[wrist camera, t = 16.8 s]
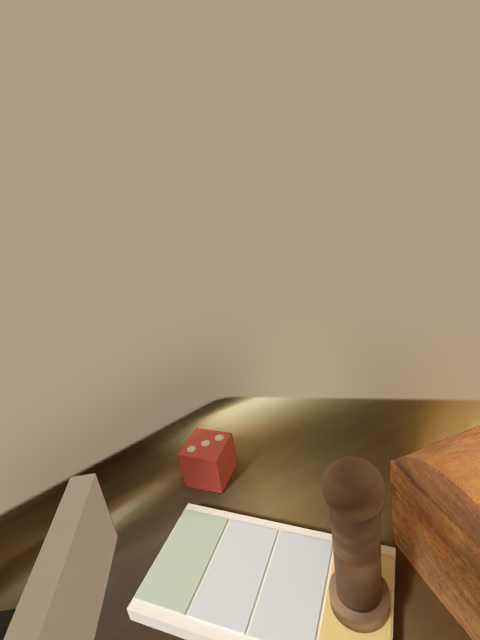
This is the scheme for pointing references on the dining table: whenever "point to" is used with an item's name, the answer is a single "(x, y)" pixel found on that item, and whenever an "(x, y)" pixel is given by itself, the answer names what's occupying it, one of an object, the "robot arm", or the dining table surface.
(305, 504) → the dining table surface
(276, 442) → the dining table surface
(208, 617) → the board
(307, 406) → the dining table surface
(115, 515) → the dining table surface
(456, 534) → the wooden box
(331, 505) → the pawn
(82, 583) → the robot arm
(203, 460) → the die
